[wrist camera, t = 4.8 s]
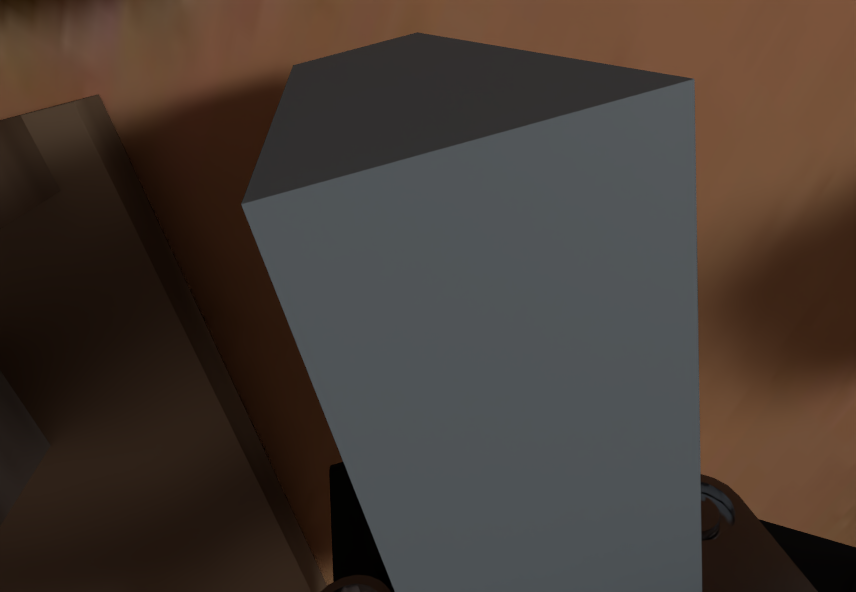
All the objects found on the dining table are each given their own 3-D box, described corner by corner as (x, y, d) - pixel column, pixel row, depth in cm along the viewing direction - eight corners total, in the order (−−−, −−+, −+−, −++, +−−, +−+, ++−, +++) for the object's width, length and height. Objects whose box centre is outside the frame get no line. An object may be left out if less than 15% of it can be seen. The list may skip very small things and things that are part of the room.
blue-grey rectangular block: (251, 76, 11) (80, 248, 3) (417, 32, 11) (694, 79, 3) (423, 567, 17) (519, 1043, 9) (526, 534, 17) (708, 974, 9)
